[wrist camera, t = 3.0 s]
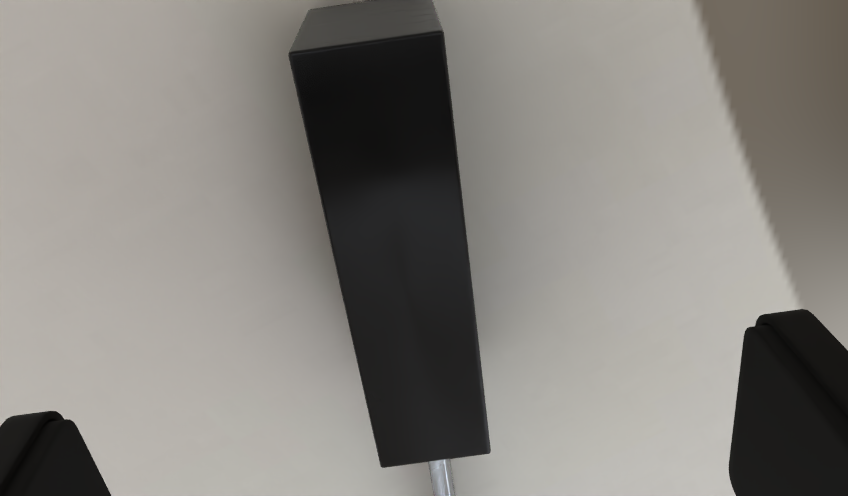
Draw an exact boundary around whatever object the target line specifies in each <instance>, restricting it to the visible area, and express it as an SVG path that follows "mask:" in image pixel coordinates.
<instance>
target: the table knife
mask: <svg viewBox="0 0 848 496" xmlns="http://www.w3.org/2000/svg"><path fill="white" fill-rule="evenodd" d="M288 56H289V61H290V65H291V69H292V74H293V78H294V83H295V87H296V92H297V96H298V101H299V105H300V109H301V114H302V118H303V123H304V127H305V132H306V136H307V141H308V145H309V150H310V154H311V158H312V163H313V167H314V172H315V176H316V181H317V185H318V190H319V194H320V198H321V203H322V207H323V212H324V216H325V221H326V225H327V230H328V234H329V239H330V243H331V247H332V252H333V256H334V261H335V265H336V270H337V274H338V279H339V283H340V287H341V292H342V296H343V301H344V305H345V310H346V314H347V319H348V323H349V328H350V332H351V336H352V341H353V345H354V350H355V354H356V359H357V363H358V368H359V372H360V376H361V381H362V385H363V390H364V394H365V399H366V403H367V408H368V412H369V417H370V421H371V425H372V430H373V434H374V439H375V443H376V448H377V452H378V457H379V461H380V465H381V467H382V468H385V467H392V466H400V465H407V464H415V463H422V462H428V464H429V470H430V475H431V481H432V487H433V492H434V496H455V490H454V483H453V477H452V470H451V464H450V459H452V458H460V457H467V456H475V455H482V454H489V453H490V451H491V449H490V440H489V431H488V422H487V413H486V404H485V396H484V387H483V378H482V369H481V360H480V351H479V342H478V333H477V324H476V315H475V306H474V298H473V289H472V280H471V271H470V262H469V253H468V244H467V235H466V226H465V217H464V208H463V199H462V191H461V182H460V173H459V164H458V155H457V146H456V137H455V128H454V119H453V110H452V101H451V93H450V84H449V75H448V66H447V57H446V48H445V39H444V32H443V29H442V26H441V24H440V21H439V18H438V15H437V12H436V9H435V6H434V3H433V1H432V0H371V1H364V2H357V3H350V4H344V5H337V6H330V7H323V8H316V9H310V10H308V12H307V15H306V17H305V19H304V21H303V23H302V25H301V28H300V30H299V32H298V34H297V36H296V38H295V41H294V43H293V45H292V47H291V49H290V51H289V55H288Z"/></svg>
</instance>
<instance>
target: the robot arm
mask: <svg viewBox="0 0 848 496" xmlns="http://www.w3.org/2000/svg"><path fill="white" fill-rule="evenodd" d="M729 476H730V480H731V484H732V487H733V490H734V492H735V494H736V496H848V351H847V350H846V348H845V347H844V346H843V345H842V344H841V343H840V342H839V341H838V340H837V339H836V338H835V337H834V336H833V335H832V334H831V333H830V332H829V331H828V330H827V328H826V327H825V326H824V325H823V324H822V323H821V322H820V321H819V320H818V319H817V318H816V317H815V316H814V315H813V314H812V313H811V312H809V311H808V310H804V309H800V310H793V311H785V312H778V313H771V314H763V315H761V316H759V318H758V319H757V321H756V325H755V326H754V327H749V328H747V329H746V331H745V334H744V340H743V349H742V357H741V366H740V374H739V383H738V392H737V400H736V409H735V417H734V426H733V434H732V443H731V451H730V460H729ZM0 496H111V494H110V492H109V490H108V488H107V486H106V484H105V482H104V480H103V478H102V476H101V474H100V472H99V470H98V468H97V466H96V464H95V462H94V460H93V458H92V456H91V454H90V452H89V450H88V448H87V446H86V444H85V442H84V440H83V438H82V436H81V434H80V432H79V430H78V428H77V426H76V425H75V423H74V422H73V421H71V420H67V419H66V420H64V418H63V417H62V415H61V414H59V413H58V412H56V411H47V412H39V413H32V414H24V415H17V416H12V417H10V418H8V419H6V421H5V422H4V423H3V424H2V425H1V426H0Z"/></svg>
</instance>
